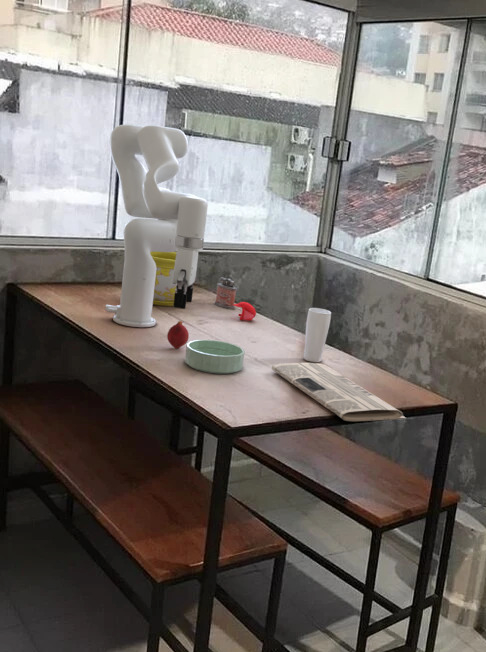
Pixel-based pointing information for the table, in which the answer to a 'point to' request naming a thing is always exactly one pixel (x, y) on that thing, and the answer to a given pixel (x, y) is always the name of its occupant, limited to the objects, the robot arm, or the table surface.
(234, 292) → the lighter
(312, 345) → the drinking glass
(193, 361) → the bowl
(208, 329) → the table surface
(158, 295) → the flowerpot
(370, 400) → the newspaper
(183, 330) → the onion
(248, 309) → the red toy figurine
